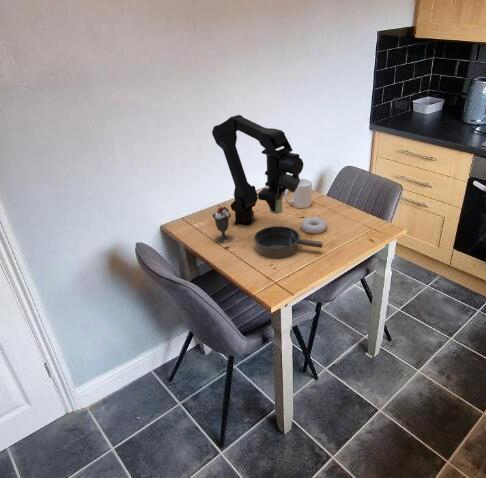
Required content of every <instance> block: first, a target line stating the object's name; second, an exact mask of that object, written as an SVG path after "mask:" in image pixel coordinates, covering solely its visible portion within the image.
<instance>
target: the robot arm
mask: <svg viewBox="0 0 486 478" xmlns="http://www.w3.org/2000/svg"><path fill="white" fill-rule="evenodd" d="M238 131H239V132H241V133H243V134H244V135H246V136H249V137H250V138H253V139H254V140H256V141H258V143H259V145H260V146H261V147H262V148H264V149H263V150H262V151H261V154H262V155H266V156H265V157H266V170H265V171H264V176H266V182H265V183H264V184H265V185H264V186H265V187H263V188H262V189H261V190H260V191H259V192H257V189H256V186H255V185H251V184H250V183H249V182H248V179H247V176H246V173H245V170H244V167H243V164H242V160H241V157H240V155H239V152H238V149H237V141H238V135H237V132H238ZM211 134H212V137H213V139H214V142H215V144H216V145H217V146H218V147H219V148H220V149H222V152H223V154H224V157H225V160H226V163H227V166H228V169H229V172H230V175H231V178H232V181H233V184H234V191H233V197H234V198H233V199H234V200H233V202H231V203H230V208H231V211H233V212H234V216H235V217H234V219H235V221H234V222H233V225H235V226H246V227H249V226H251V224H253V223H254V221H255V212H254V210H253V208H254V207H256V203H257V202H258V200H259V201H265V202H266V204H267V205H268V207H269V210H270V209H271V211H272V212H275V209H276V202H277V199H278V198H279V197H280V196H282V197H283V195H284V194H283V192H284V191H285V190H286V189H288V190H289V192H291V193H292V192H295V190H296V189H297V187H298V185H299V183H300V179H301V178H300V174H301V173H302V171H303V169H304V162H303V159H302V158H300V154H298V153H294V152H293V148H292V145H291V143H290V141H289V140H288V138H287V136H286V135H285V132H284V131H283V130H281V129H277V128H274V127H273V128H269V127H265V126H262V125H260V124H258V123H256V122H254V121H252V120H249V119H247V118H245V117H244V116H243V115H240V114H236V115H233V116H229V118H228V119H226V120H225V121H222V122H221V123H219V124H217V125H214V126H213V127H212V130H211ZM286 172H287V174H286ZM278 193H281V195H278Z"/></svg>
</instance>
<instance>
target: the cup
mask: <svg viewBox="0 0 486 478" xmlns="http://www.w3.org/2000/svg"><path fill="white" fill-rule="evenodd" d="M299 179H300V183H299V185H298V187H297V189H296V190H295V192H291V199H289V198H288V193H289V192H290V190H288V189H286V191H285V194H284V200H285V202H286V203H288V204H292V206H293V207H294V208H296V209H307V208H309V207H311V206H312V200H313V199H312V198H313V197H312V195H313V194H312V193H313V181H312V180H310V179H309V178H308V179H307V178H299Z"/></svg>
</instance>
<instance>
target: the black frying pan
mask: <svg viewBox="0 0 486 478" xmlns="http://www.w3.org/2000/svg"><path fill="white" fill-rule="evenodd" d="M253 240H254V250H255V252H256V254H258V255H260V256H261V257H264V258H267V259H273V260H274V259H275V260H278V259H286V258H289V257H290V258H291V257H292V256H294V255H295V254H297V253H298V252H299V250H300V248H301V244H298V241H299V240H301V235H300V233H299V232H298V230H295V229H294V228H291V227H288V226H281V225H275V226H269V227H265V228H262V229H259V230H258V231H257V232H256V233H255V235H254V239H253Z"/></svg>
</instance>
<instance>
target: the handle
mask: <svg viewBox="0 0 486 478" xmlns="http://www.w3.org/2000/svg"><path fill="white" fill-rule="evenodd" d="M323 243H324V242H323V241H317V240H310V239H300V240H299V241H298V244H300V245H301V246H307V247H313V248H319V249H322V248H323V245H324V244H323Z"/></svg>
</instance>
